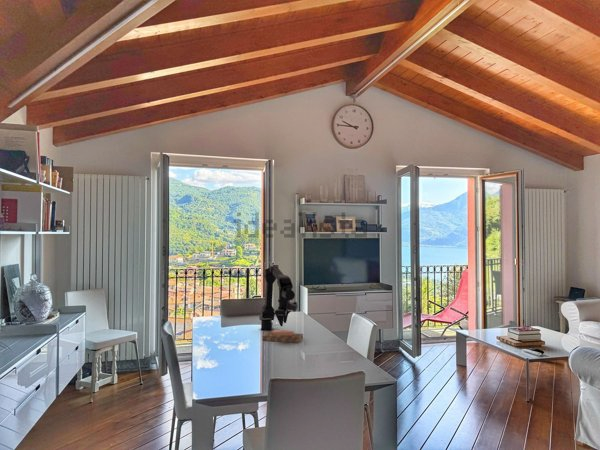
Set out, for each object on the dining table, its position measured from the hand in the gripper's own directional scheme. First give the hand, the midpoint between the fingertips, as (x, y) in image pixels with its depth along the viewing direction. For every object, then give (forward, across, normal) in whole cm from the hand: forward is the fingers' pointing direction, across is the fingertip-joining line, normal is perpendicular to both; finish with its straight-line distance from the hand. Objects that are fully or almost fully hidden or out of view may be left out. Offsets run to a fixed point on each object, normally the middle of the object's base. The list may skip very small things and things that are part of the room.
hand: (283, 324), depth 239 cm
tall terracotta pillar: (+9, 0, 0) cm, 9 cm away
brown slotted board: (+9, 0, 0) cm, 9 cm away
